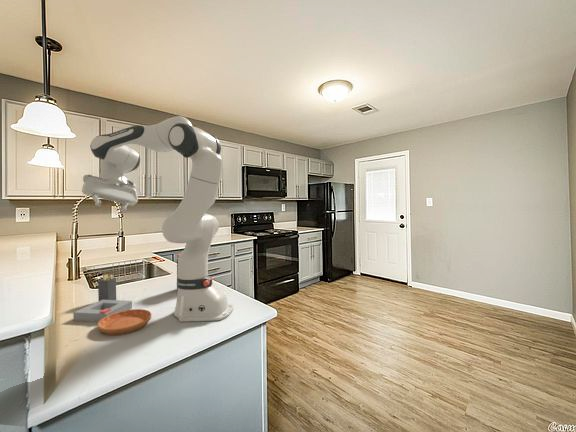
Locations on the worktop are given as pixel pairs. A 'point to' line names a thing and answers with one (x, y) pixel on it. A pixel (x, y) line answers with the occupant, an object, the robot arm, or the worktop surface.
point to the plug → (107, 288)
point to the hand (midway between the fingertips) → (111, 208)
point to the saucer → (124, 321)
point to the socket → (101, 310)
